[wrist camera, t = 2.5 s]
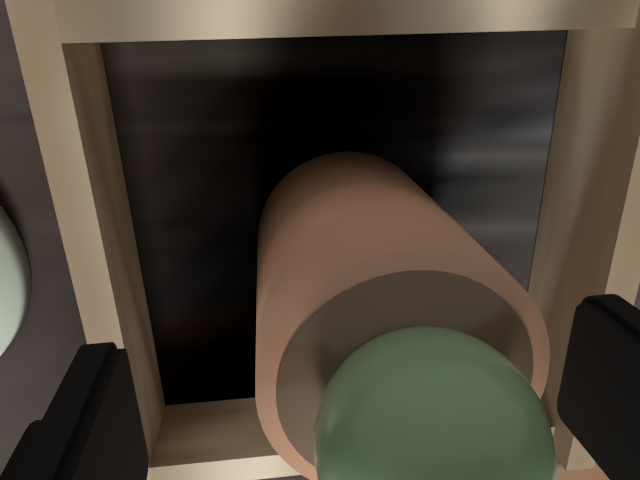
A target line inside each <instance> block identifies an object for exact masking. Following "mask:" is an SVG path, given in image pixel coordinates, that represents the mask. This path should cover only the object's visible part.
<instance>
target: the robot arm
mask: <svg viewBox="0 0 640 480" xmlns="http://www.w3.org/2000/svg"><path fill="white" fill-rule="evenodd" d="M557 411H558V414H559V417H560V419H561V420H562V422H563V423H564V424H565V425H566V427H567V428H568V429H569V430H570V431H571V433H572V434H573V435H574V436H575V438H576V439H577V440H578V441H579V442H580V444H581V445H582V446H583V447H584V449H585V450H586V451H587V452H588V453H589V455H590V456H591V457H592V458H593V459H594V461H595V462H596V463H597V464H598V466H599V467H600V468H601V469H602V470H603V471H604V473H605V474H606V475H607V477H608V478H609V479H610V480H640V310H639V309H637V308H636V307H635V306H633V305H632V304H630V303H629V302H627V301H626V300H625V299H623V298H622V297H620V296H619V295H616V294H603V295H592V296H587V297H585V298H584V299H583V300H582V303H580V304H578V305H577V307H576V309H575V313H574V318H573V323H572V328H571V333H570V338H569V343H568V348H567V353H566V358H565V364H564V369H563V374H562V379H561V384H560V389H559V394H558V399H557ZM148 468H149V457H148V450H147V445H146V441H145V436H144V431H143V426H142V421H141V416H140V411H139V407H138V402H137V397H136V392H135V387H134V382H133V377H132V372H131V368H130V363H129V358H128V354H127V351H126V349H125V348H121V349H117V346H116V344H115V343H114V342H105V343H94V344H84V345H81V347H80V348H79V350H78V351H77V353H76V355H75V357H74V359H73V361H72V363H71V365H70V367H69V369H68V371H67V373H66V375H65V376H64V378H63V380H62V382H61V384H60V386H59V388H58V390H57V392H56V394H55V396H54V398H53V400H52V401H51V403H50V405H49V407H48V409H47V411H46V413H45V415H44V417H43V419H42V420H35V421H34V422H32V423H30V425H29V426H28V427H27V429H26V430H25V432H24V434H23V436H22V437H21V439H20V441H19V443H18V445H17V446H16V448H15V450H14V452H13V454H12V456H11V457H10V459H9V461H8V463H7V465H6V467H5V468H4V470H3V472H2V474H1V476H0V480H147V475H148Z"/></svg>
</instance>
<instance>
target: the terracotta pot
mask: <svg viewBox="0 0 640 480" xmlns="http://www.w3.org/2000/svg"><path fill="white" fill-rule="evenodd" d="M549 364H550V343H549V338H548V333H547V328H546V325H545V323H544V320H543V317H542V315H541V312H540V311H539V309H538V307H537V306H536V304H535V302H534V301H533V299H532V298H531V296H530V295H529V294H528V293H527V292H526V291H525V289H524V288H523V287H522V286H521V285H520V284H519V283H518V282H517V281H516V280H515V279H514V278H513V277H512V276H511V275H510V274H509V273H508V272H507V271H506V270H505V269H504V268H503V267H502V266H501V265H500V264H499V263H498V262H497V261H496V260H494V259H493V258H492V257H491V256H490V255H489V254H488V253H487V252H486V251H485V250H484V249H483V248H482V247H481V246H480V245H479V244H478V243H477V242H476V241H475V240H474V239H473V238H472V237H471V236H470V235H469V234H468V233H467V232H466V231H465V230H464V229H463V228H462V227H461V226H460V225H459V224H458V223H457V222H456V221H455V220H454V219H453V218H452V217H450V216H449V215H448V214H447V213H446V212H445V211H444V210H443V209H442V208H441V207H440V206H439V205H438V204H437V203H436V202H435V201H434V200H433V199H432V198H431V197H430V196H429V195H428V194H427V193H426V192H425V191H424V190H423V189H422V188H421V187H420V186H419V185H418V184H417V183H416V182H415V181H414V180H413V179H412V178H411V177H410V176H409V175H407V174H406V173H405V172H404V171H403V170H402V169H400V168H399V167H398V166H396V165H395V164H393V163H391V162H390V161H388V160H386V159H383V158H381V157H379V156H375V155H372V154H368V153H362V152H351V151H344V152H335V153H329V154H325V155H321V156H319V157H316V158H313V159H311V160H309V161H307V162H305V163H303V164H301V165H299V166H298V167H296V168H295V169H294V170H292V171H291V172H290V173H288V174H287V175H286V176H285V177H284V178H283V179H282V180H281V181H280V182H279V183H278V185H277V186H276V187H275V188H274V190H273V191H272V193H271V194H270V196H269V198H268V199H267V201H266V203H265V206H264V208H263V210H262V214H261V217H260V221H259V228H258V255H257V312H256V368H255V401H256V407H257V413H258V417H259V420H260V423H261V426H262V429H263V431H264V433H265V435H266V437H267V439H268V440H269V442H270V444H271V445H272V447H273V448H274V449H275V451H276V452H277V453H278V454H279V456H280V457H281V458H282V459H283V460H284V461H285V462H286V463H287V464H288V465H290V466H291V467H292V468H293V469H294V470H296V471H297V472H299V473H300V474H301V475H303V476H304V477H306V478H308V479H310V480H555V476H556V453H555V443H554V439H553V434H552V430H551V426H550V422H549V419H548V417H547V415H546V412H545V410H544V408H543V405H542V403H541V401H540V399H541V396H542V394H543V392H544V389H545V385H546V381H547V377H548V373H549Z"/></svg>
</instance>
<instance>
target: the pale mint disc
mask: <svg viewBox="0 0 640 480" xmlns="http://www.w3.org/2000/svg"><path fill="white" fill-rule="evenodd" d="M31 291H32V285H31V271H30V266H29V261H28V257H27V254H26V251H25V248H24V245H23V242H22V240H21V238H20V236H19V234H18V232H17V230H16V228H15V226H14V224H13V223H12V221H11V220H10V218H9V217H8V215H7V214H6V212H5V211H4V209H3V208H2V207H1V206H0V356H1V355H2V353H3V352H4V351H5V350H6V348H7V347H8V346H9V345H10V343H11V342H12V341H13V339H14V338H15V337H16V335H17V334H18V332H19V331H20V329H21V327H22V325H23V323H24V321H25V319H26V316H27V312H28V309H29V306H30V299H31Z"/></svg>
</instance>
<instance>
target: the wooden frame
mask: <svg viewBox="0 0 640 480" xmlns="http://www.w3.org/2000/svg"><path fill="white" fill-rule="evenodd" d="M5 3H6V8H7V12H8V16H9V20H10V24H11V28H12V33H13V37H14V41H15V45H16V49H17V53H18V58H19V62H20V66H21V70H22V74H23V78H24V83H25V87H26V91H27V95H28V99H29V103H30V107H31V112H32V116H33V120H34V124H35V128H36V132H37V137H38V141H39V145H40V149H41V153H42V157H43V162H44V166H45V170H46V174H47V178H48V182H49V187H50V191H51V195H52V199H53V203H54V207H55V212H56V216H57V220H58V224H59V228H60V232H61V237H62V241H63V245H64V249H65V253H66V257H67V261H68V266H69V270H70V274H71V278H72V282H73V286H74V291H75V295H76V299H77V303H78V307H79V311H80V316H81V320H82V324H83V328H84V332H85V336H86V341H87V344H94V343H105V342H114V343H115V344H116V346H117V349H121V348H125V349H126V351H127V354H128V358H129V363H130V368H131V372H132V377H133V382H134V387H135V392H136V397H137V402H138V407H139V411H140V416H141V421H142V426H143V431H144V436H145V441H146V445H147V450H148V457H149V468H148V475H147V480H256V479H266V478H275V477H285V476H294V475H301V474H300V473H299V472H297V471H296V470H294V469H293V468H292V467H291V466H290V465H288V464H287V463H286V462H285V461H284V460H283V459H282V458H281V457H280V456H279V454H278V453H277V452H276V451H275V449H274V448H273V447H272V445H271V444H270V442H269V440H268V439H267V437H266V435H265V433H264V431H263V429H262V426H261V423H260V420H259V417H258V413H257V407H256V401H255V398H244V399H233V400H222V401H211V402H200V403H189V404H178V405H167V406H165V401H164V395H163V390H162V384H161V379H160V373H159V368H158V362H157V356H156V351H155V345H154V340H153V334H152V329H151V323H150V317H149V312H148V306H147V301H146V295H145V290H144V284H143V278H142V273H141V267H140V262H139V256H138V251H137V245H136V239H135V234H134V228H133V223H132V217H131V212H130V206H129V200H128V195H127V189H126V184H125V178H124V173H123V167H122V161H121V156H120V150H119V145H118V139H117V134H116V128H115V122H114V117H113V111H112V106H111V100H110V95H109V89H108V83H107V78H106V72H105V67H104V61H103V56H102V50H101V44H100V42H134V41H171V40H207V39H244V38H280V37H317V36H353V35H390V34H426V33H463V32H499V31H536V30H568V34H567V41H566V47H565V54H564V60H563V67H562V73H561V80H560V87H559V93H558V100H557V106H556V113H555V119H554V126H553V132H552V139H551V145H550V152H549V158H548V165H547V171H546V178H545V185H544V191H543V198H542V204H541V211H540V217H539V224H538V230H537V237H536V243H535V250H534V256H533V263H532V270H531V276H530V283H529V289H528V294H529V295H530V296H531V298H532V299H533V301H534V302H535V304H536V306H537V307H538V309H539V311H540V312H541V315H542V317H543V320H544V323H545V325H546V328H547V333H548V338H549V343H550V364H549V373H548V377H547V381H546V385H545V389H544V392H543V394H542V396H541V399H540V401H541V403H542V405H543V408H544V410H545V412H546V415H547V417H548V419H549V422H550V426H551V430H552V434H553V439H554V443H555V453H556V457H557V458H558V460H559V461H560V463H561V464H562V466H563V467H564V468H565V470H566V471H568V470H577V469H587V468H593V467H594V464H595V461H594V459H593V458H592V457H591V456H590V455H589V453H588V452H587V451H586V450H585V449H584V447H583V446H582V445H581V444H580V442H579V441H578V440H577V439H576V438H575V436H574V435H573V434H572V433H571V431H570V430H569V429H568V428H567V427H566V425H565V424H564V423H563V422H562V420H561V419H560V417H559V414H558V411H557V399H558V394H559V389H560V384H561V379H562V374H563V369H564V364H565V358H566V353H567V348H568V343H569V338H570V333H571V328H572V323H573V318H574V313H575V309H576V307H577V305H578V304H580V303H582V300H583V299H584V298H585V297H587V296H592V295H603V294H616V295H619V296H620V297H622V298H623V299H625V300H626V301H627V302H629V303H630V304H632V305H633V306H634V303H635V299H636V294H637V290H638V286H639V282H640V0H5Z"/></svg>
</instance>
